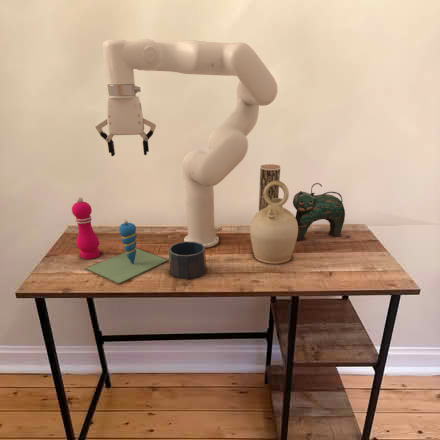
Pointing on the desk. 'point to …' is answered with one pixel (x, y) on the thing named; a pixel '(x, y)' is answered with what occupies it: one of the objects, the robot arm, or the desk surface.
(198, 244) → the crock
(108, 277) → the mat
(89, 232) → the pepper mill
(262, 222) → the jug
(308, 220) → the ceramic cat
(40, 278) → the desk surface
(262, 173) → the wooden log
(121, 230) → the ornament
